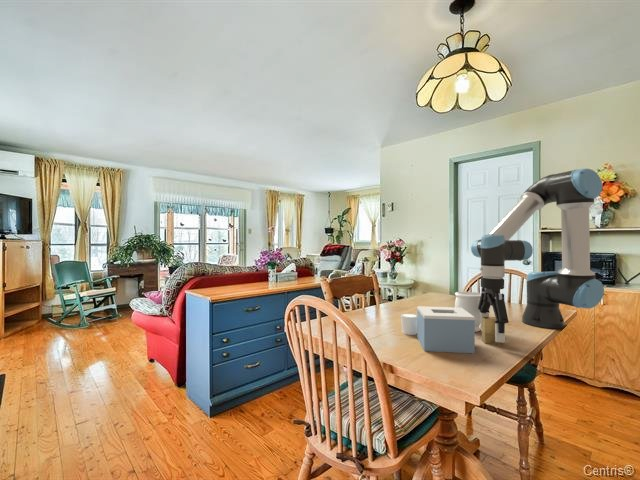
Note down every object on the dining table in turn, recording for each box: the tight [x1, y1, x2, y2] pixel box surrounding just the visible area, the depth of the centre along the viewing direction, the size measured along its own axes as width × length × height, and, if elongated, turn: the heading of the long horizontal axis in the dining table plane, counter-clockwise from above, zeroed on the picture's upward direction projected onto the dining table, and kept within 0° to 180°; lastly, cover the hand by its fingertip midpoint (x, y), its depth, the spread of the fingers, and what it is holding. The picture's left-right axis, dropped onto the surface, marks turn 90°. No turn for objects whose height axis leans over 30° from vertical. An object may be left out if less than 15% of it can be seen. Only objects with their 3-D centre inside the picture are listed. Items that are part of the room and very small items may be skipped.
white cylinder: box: [400, 313, 417, 336], centre depth 124 cm, size 7×7×7 cm
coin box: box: [416, 305, 476, 354], centre depth 110 cm, size 16×14×12 cm
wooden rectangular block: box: [481, 316, 504, 345], centre depth 113 cm, size 6×3×9 cm, turn 82°
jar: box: [454, 291, 481, 333], centre depth 129 cm, size 11×10×15 cm
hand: (491, 335), depth 113 cm, fingers open, 13 cm apart
